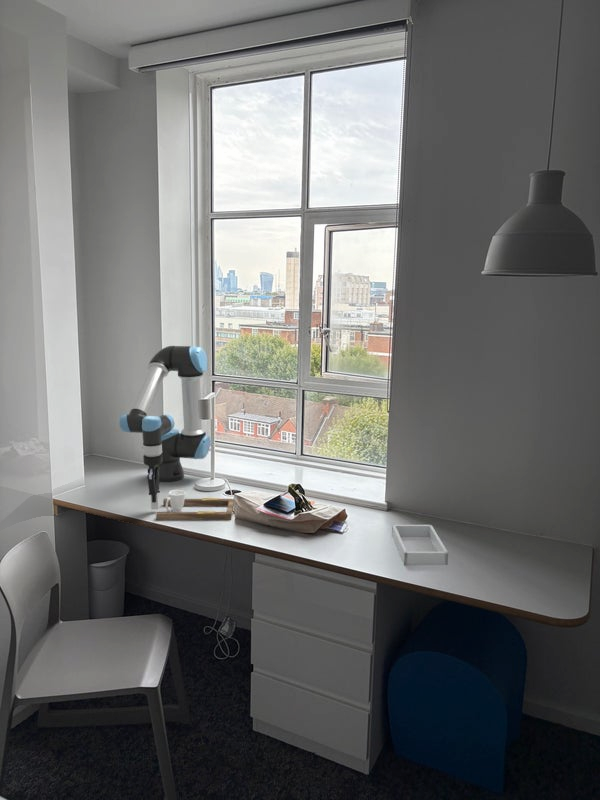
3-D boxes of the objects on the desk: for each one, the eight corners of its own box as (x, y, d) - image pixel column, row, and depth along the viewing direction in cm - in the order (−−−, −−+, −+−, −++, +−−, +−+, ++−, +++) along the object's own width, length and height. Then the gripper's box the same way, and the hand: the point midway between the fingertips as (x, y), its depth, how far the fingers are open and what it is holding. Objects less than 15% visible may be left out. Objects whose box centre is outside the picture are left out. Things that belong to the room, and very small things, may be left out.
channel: (164, 504, 263) (164, 498, 263) (234, 504, 264) (234, 498, 263) (156, 519, 246) (156, 513, 246) (231, 519, 247) (230, 513, 247)
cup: (189, 509, 257) (188, 491, 256) (173, 517, 249) (172, 498, 247) (176, 506, 261) (176, 488, 259) (160, 514, 252) (159, 495, 251)
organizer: (391, 535, 233) (392, 524, 232) (430, 535, 233) (431, 524, 232) (404, 565, 209) (404, 553, 209) (447, 564, 210) (448, 552, 209)
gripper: (147, 449, 256) (149, 502, 261) (139, 458, 243) (142, 514, 248) (165, 449, 256) (167, 502, 261) (158, 458, 243) (160, 514, 248)
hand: (155, 508), depth 254 cm, fingers closed
